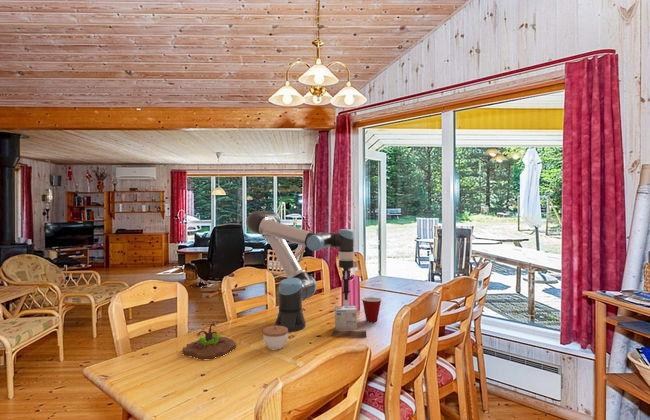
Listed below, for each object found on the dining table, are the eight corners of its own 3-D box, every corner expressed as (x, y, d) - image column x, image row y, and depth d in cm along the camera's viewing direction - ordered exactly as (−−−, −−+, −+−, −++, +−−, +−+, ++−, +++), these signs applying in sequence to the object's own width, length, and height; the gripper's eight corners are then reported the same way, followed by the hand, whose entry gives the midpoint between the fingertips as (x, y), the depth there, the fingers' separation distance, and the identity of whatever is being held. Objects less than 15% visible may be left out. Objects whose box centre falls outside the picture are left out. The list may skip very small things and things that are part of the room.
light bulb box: (355, 326, 182) (355, 305, 182) (357, 331, 175) (357, 309, 175) (334, 326, 182) (334, 305, 181) (335, 331, 175) (335, 309, 175)
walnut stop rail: (332, 335, 169) (332, 330, 169) (332, 334, 171) (332, 329, 171) (366, 337, 167) (366, 331, 167) (366, 335, 169) (366, 330, 169)
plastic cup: (381, 317, 196) (381, 295, 196) (382, 324, 185) (382, 301, 185) (361, 317, 197) (361, 295, 197) (361, 323, 186) (361, 300, 186)
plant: (244, 347, 157) (244, 321, 157) (208, 364, 140) (208, 335, 140) (212, 338, 167) (212, 314, 167) (175, 353, 151) (175, 326, 150)
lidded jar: (264, 353, 149) (264, 331, 149) (261, 344, 159) (261, 323, 159) (290, 351, 152) (289, 328, 152) (285, 341, 162) (285, 320, 162)
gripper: (353, 261, 177) (353, 309, 177) (353, 257, 190) (353, 302, 190) (338, 261, 178) (338, 309, 178) (339, 257, 191) (339, 302, 191)
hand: (346, 305), depth 184 cm, fingers closed
